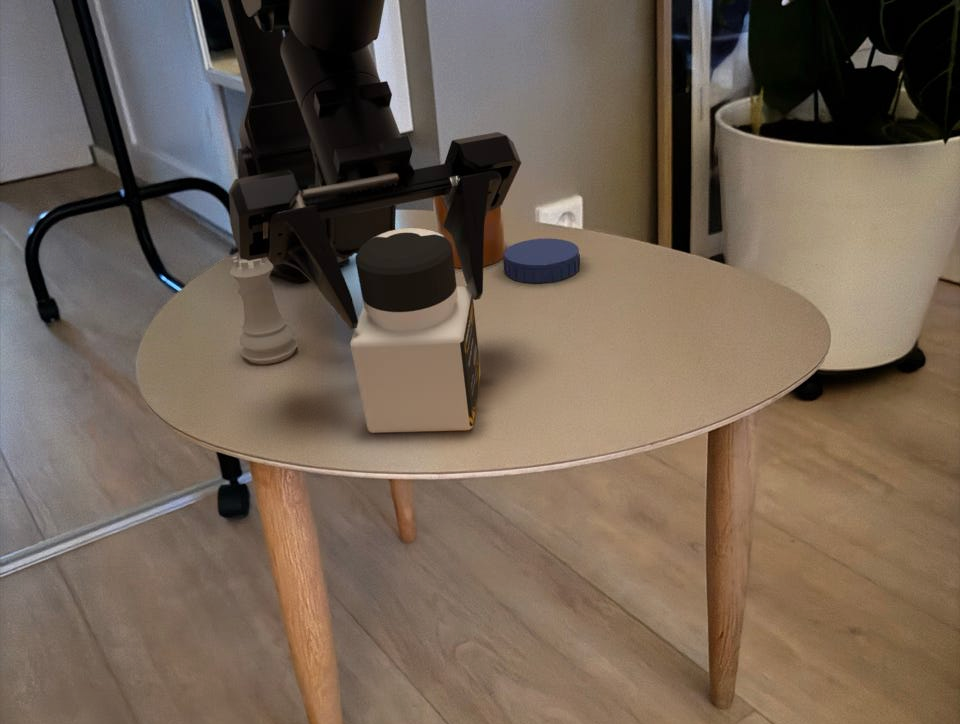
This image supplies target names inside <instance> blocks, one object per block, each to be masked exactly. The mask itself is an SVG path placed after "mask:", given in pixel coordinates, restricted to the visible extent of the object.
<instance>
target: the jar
mask: <svg viewBox="0 0 960 724" xmlns="http://www.w3.org/2000/svg"><path fill="white" fill-rule="evenodd" d="M444 163H445V162H443V163H442V164H444ZM432 205H433V207H432V208H433V216H434V224H435V232H437V233H439V234H441V235H443V236H444V237H445V238H446V239H447V240H449V242H450V243H451V245H452V250H453V259H454V268H456V269H462V268H461V264H460V261H459V258H458V254H457V251H456V248H455V244H454V241H453V237H452V235H451V234H450V233H449V232H448V231H447V230H446V229H445V228H444V227H443V224H444V221H445V218H446V216H447V213H448V210H446V207H445V205H444V202H443V199H442V197H441V196H438V197H433V198H432ZM503 213H504V212H503V204H502V205H501V206H499V207H498V208H496V209H494V210H492V211H488V213H487V215H486V217H485V222H484V252H483V267H486V266H490V265H493V264H496V263H498V262H500V261H501V260H503V259H504V252H505V250H506V244H505V228H504V214H503Z"/></svg>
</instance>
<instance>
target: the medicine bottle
mask: <svg viewBox="0 0 960 724" xmlns="http://www.w3.org/2000/svg"><path fill="white" fill-rule="evenodd" d="M354 260H355V265H356V271H357V276H358V281H359V287H360V293H361V298H362V303H363V307H362V310H361V312H360V315H359V318H358V325H357V328H355V329H354V332H353V334H352V338H351V340H350V350H351V354H352V360H353V363H354V369H355V375H356V378H357V384H358V388H359V393H360V399H361V403H362V408H363V413H364V418H365V423H366V428H367V430H368V432H369V433H371V434H372V433H373V434H377V433H380V434H381V433H382V434H383V433H415V432H416V433H417V432H451V431H452V432H453V431H470V430H472V429H473V427H474V420H475V414H476V407H477V401H478V395H479V393H478V392H479V385H480V381H481V373H482V372H481V362H480V354H479V352H480V351H479V345H478V343H479V342H478V334H477V333H478V332H477V325H476V316H475V315H476V314H475V305H474V299H473V297H472V295H471V293H470V291H469V288H468V286H467V285H457V277H456V269H455V267H454V259H453V250H452V245H451V243H450V242H449V240H447V239H446V238H445V237H444V236H443V235H441V234H439V233H437V232H436V231H434V230H429V229H424V228H416V227H415V228H413V227H407V228H397V229H396V230H392V231H388V232H385V233H383V234H380V235H378V236H376V237H374V238H372V239H370V240H368V241H367V242H366V243H364V244H363V245H362V246H361V248H360V249H359V251H358V253H355V258H354Z"/></svg>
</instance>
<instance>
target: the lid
mask: <svg viewBox="0 0 960 724" xmlns="http://www.w3.org/2000/svg"><path fill="white" fill-rule="evenodd" d="M502 260H503V271H504V274H505V275H506V276H507V277H508V278H509V279H512V280H513V281H516V282H521V283H529V284H545V283H547V284H548V283H554V282H558V281H562V280H566V279H568V278H571V277H572V276H574V275H576V273H578V271H579V270H580V266H581V253H580V248H579V246H578V245H577V244H576V243H574V242H572V241H569V240H566V239H559V238H549V237H548V238H547V237H546V238H533V239H528V240H523V241H520V242H517V243H513V244H512V245H510V246H508V247H507V248H505V252H504V257H503V258H502Z"/></svg>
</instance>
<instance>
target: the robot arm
mask: <svg viewBox="0 0 960 724" xmlns="http://www.w3.org/2000/svg"><path fill="white" fill-rule="evenodd" d="M220 1H221V4H222V9H223V11H224V16H225V19H226V23H227V27H228V30H229V34H230V38H231V42H232V46H233V49H234V52H235V57H236V61H237V64H238V68H239V72H240V76H241V79H242V83H243V87H244V90H245V95H246V104H245V107H244V111H243V115H242V118H241V121H240V126H239V129H238V130H239V131H238V138H239V142H240V146H241V147H239V148H237V178H235V179H234V181H233V182H232V184H231V186H230V187H229V190H228V200H229V201H228V202H229V218H230V221H229V222H230V227H231V232H232V236H233V240H234V243H235V246H236V250H237V251H238V256H239V255H240V258H241V259H245V260H248V261H250V260H255V259H260V258H265V257H266V258H267V260H268V261H269V262H270V263H272V264H273V269H272V271H271V273H270V275H274V276H275V277H276V276H277V277H280V278H282V279H285V280H288V281H291V282H294V283H301V282H304V281H307V280H309V281H310V282H311V283H312V284H313V286H315V288H316V289H317V290H318V291H319V292H320V293H321V295H322V296H323V298H324V299H325V300H326V301H327V302H328V304H330V306H331V307H332V308H333V309H334V311H335V312H336V313H337V315H338V316H339V317H340V319H342V321H343V322H344V323H345V325H346V326H347V327H348V328H349V330H355V329H356V328H357V325H358V321H359V318H358V314H357V311H356V308H355V304H354V300H353V297H352V294H351V291H350V289H349V287H348V284H347V282H346V279H345V277H344V274H343V272H342V269H341V267H342V266H344V265H346V264H349V263H350V262H351V260H350V259H351V258H350V257H353V256H354V255H356V254H357V253H358V251H359V249H360V248H361V246H362V245H363V244H364V243H366V242H367V241H368V240H370V239H372V238H374V237H376V236H378V235H380V234H383V233H385V232H388V231H392V230H397V229H396V217H397V216H396V214H397V209H396V208H397V205H401V204H407V203H412V202H417V201H423V200H427V199H433V197H438V196H441V197H442V199H443V202H444V205H445V207H446V210H448V213H447V216H446V218H445V221H444V224H443V227H444V228H445V229H446V230H447V231H448V232H449V233H450V234H451V235H452V237H453V241H454V244H455V248H456V251H457V254H458V258H459V261H460V264H461V268H460V269H461V272H462V274H463V278H464V281H465V285H466V286H468V288H469V291H470V293H471V295H472V297H473V301H477V300H480V299H481V297H482V295H483V293H484V266H483V252H484V222H485V217H486V215H487V213H488V211H492V210H494V209H496V208H498V207H499V206H501V205H502V206H503V204H504V201H505V199H506V197H507V195H508V194H509V191H510V190H511V187H512V185H513V182H514V180H515V178H516V176H517V174H518V172H519V170H520V167H521V166H522V161H521V158H520V156H519V153H518V151H517V148H516V146H515V143H514V141H512V140H511V138H510V137H509V136H508V135H506V134H505V133H503V132H500V131H496V132H490V133H483V134H477V135H474V136H473V135H472V136H468V137H462V138H456V139H452V140H451V142H450V145H449V148H448V151H447V154H446V156H445V157H446V158H445V160H444V162H443V163H444V164H443V163H440V164H437V165H431V166H426V167H421V168H415V169H414V167H413V164H412V162H411V159H412V158H411V157H412V154H413V151H414V150H413V147H412V144H411V141H410V138H409V136H408V135H405V136H402V135H401V132H400V130H399V127H398V124H397V121H396V118H395V116H394V113H393V109H392V108H391V101H392V97H393V93H392V90H391V88H390V85H389V83H388V81H387V80H386V81H382V80H381V79H380V76H379V73H378V70H377V68H376V65H375V62H374V59H373V57H372V54H371V51H370V48H369V45H371V44H372V43H373V42H374V41H377V39H378V37H379V34H380V29H381V23H382V19H383V13H384V8H385V7H384V6H385V2H386V0H220ZM283 31H287V32H286V34H284V32H283ZM240 258H239V259H240Z"/></svg>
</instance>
